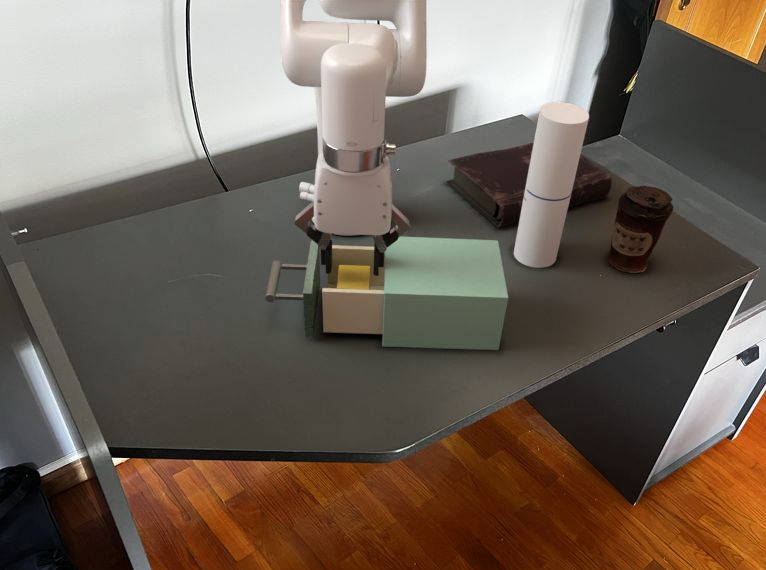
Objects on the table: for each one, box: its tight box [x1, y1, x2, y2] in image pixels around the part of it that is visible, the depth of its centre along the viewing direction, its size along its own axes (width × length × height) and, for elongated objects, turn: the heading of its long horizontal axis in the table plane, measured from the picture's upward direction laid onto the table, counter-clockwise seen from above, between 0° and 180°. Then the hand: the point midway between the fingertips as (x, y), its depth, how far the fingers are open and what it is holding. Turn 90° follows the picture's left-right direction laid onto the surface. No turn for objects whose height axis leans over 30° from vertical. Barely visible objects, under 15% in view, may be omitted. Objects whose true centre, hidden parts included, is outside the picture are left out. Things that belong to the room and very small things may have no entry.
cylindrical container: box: [513, 101, 590, 269], centre depth 115 cm, size 7×7×25 cm
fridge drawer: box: [264, 239, 385, 338], centre depth 106 cm, size 21×12×8 cm, turn 91°
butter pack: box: [337, 265, 370, 290], centre depth 106 cm, size 4×6×5 cm
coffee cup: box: [608, 185, 674, 274], centre depth 119 cm, size 9×8×13 cm
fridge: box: [381, 236, 509, 351], centre depth 107 cm, size 17×14×10 cm
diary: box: [445, 141, 613, 229], centre depth 137 cm, size 19×25×5 cm
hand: (352, 268), depth 103 cm, fingers open, 6 cm apart
